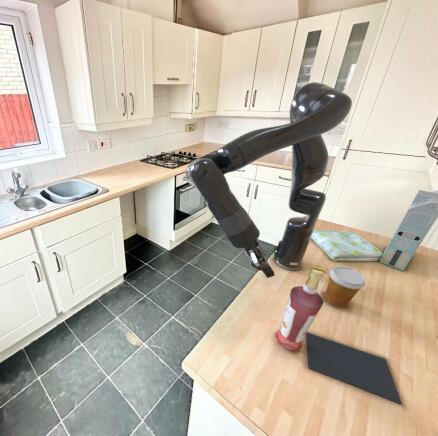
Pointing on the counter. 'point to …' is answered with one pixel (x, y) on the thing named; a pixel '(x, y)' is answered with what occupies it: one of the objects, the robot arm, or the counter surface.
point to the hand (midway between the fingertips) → (270, 275)
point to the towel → (346, 246)
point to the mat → (351, 366)
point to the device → (411, 230)
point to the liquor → (300, 311)
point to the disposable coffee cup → (343, 285)
